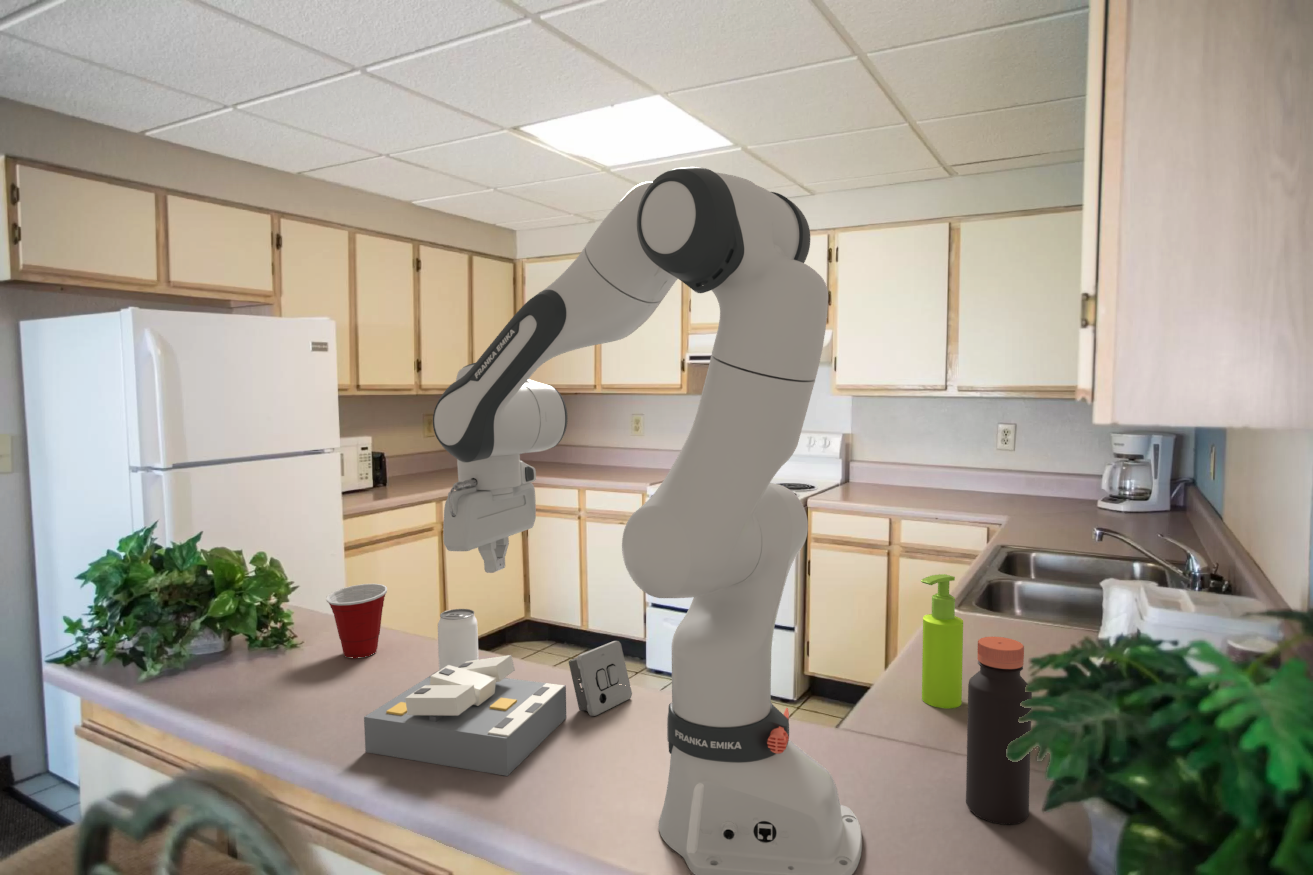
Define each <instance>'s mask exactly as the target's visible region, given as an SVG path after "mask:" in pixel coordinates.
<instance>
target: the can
mask: <svg viewBox="0 0 1313 875" xmlns="http://www.w3.org/2000/svg"><path fill="white" fill-rule="evenodd" d="M439 617H440V618H439V619H438V620H439V621H438V623H437V647H438V648H437V650H438V652H437V653H438V671H439V670H441V669H443V668H444V667H446V666H448V665H451V666H455V667H459V666H460V665H462V664H463V663H465V662H466V661H472V660H479V633H478V632H479V629H478V619H477V617H476V616H475V611H474V610H473V609H469V608H454V609H448V610H444V611H443V612H441V613H440V614H439Z"/></svg>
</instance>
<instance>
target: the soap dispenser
mask: <svg viewBox="0 0 1313 875" xmlns="http://www.w3.org/2000/svg"><path fill="white" fill-rule="evenodd" d="M955 579H956V577H955V576H953V575H949V574H946V573H942V574H940V573H939V574H932V575H929V576H926V577H923V578H922V579H921V580H920V582H921V584H925V585H927V586H928V585H929V586H933V585H935V584H937V593H935V594H933V595H932V596H931V613H929V614H928V613H927V614H924V615H923V617H922V654H921V656H922V658H921V659H922V660H921V665H922V666H921V668H922V669H921V700H922V701H923V703H925V704H926V705H929V706H930V707H934V708H939V709H946V710H947V709H948V710H949V709H956V708H959V707H960V706H962V702H963V701H962V700H963V698H962V697H963V656H964V655H963V654H964V653H963V652H964V651H963V648H964V619H962V618H961V617H959V616H957V615H956V614H955V612H956V609H955V608H956V599H955V598H956V597H955V596H952V594H950V582H954V581H956V580H955Z"/></svg>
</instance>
